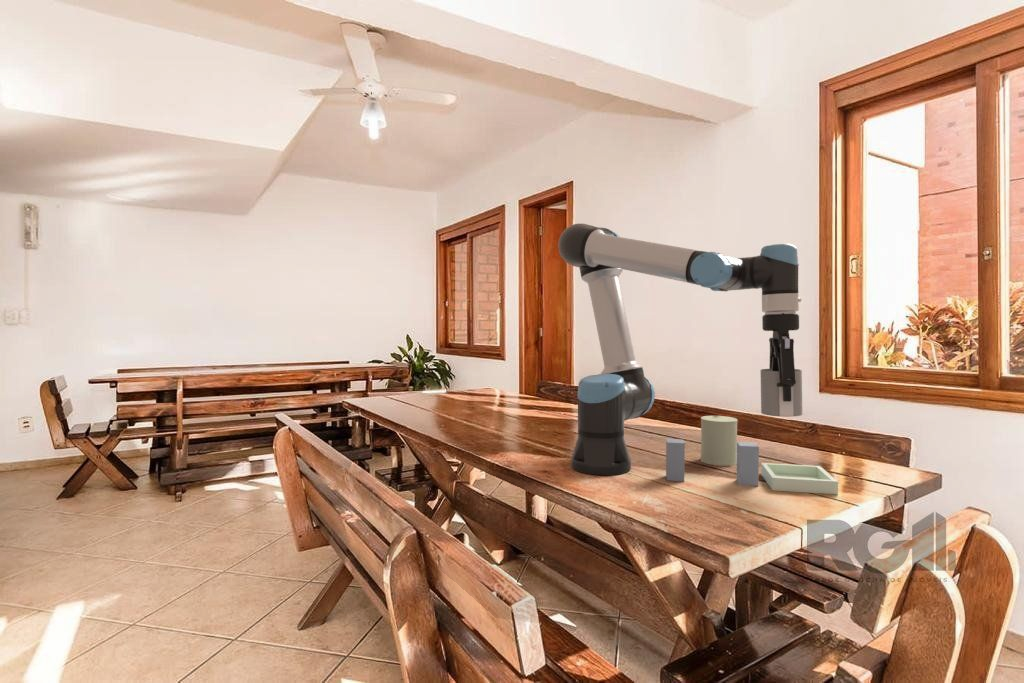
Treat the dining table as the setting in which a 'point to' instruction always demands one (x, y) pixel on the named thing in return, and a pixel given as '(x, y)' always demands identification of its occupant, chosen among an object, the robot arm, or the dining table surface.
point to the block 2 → (747, 463)
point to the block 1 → (675, 459)
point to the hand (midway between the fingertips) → (782, 412)
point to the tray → (799, 478)
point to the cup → (772, 393)
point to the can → (719, 440)
